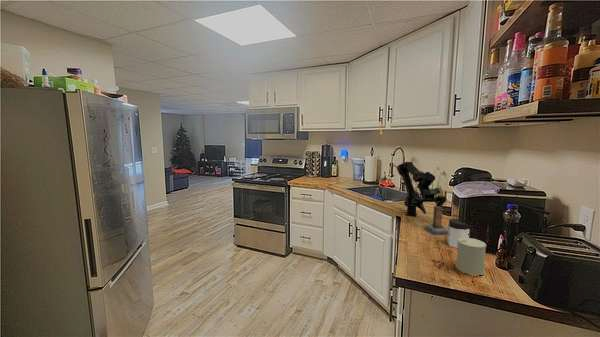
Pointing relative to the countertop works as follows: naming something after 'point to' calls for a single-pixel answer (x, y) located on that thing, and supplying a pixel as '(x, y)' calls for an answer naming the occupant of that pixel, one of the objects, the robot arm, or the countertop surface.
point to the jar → (456, 232)
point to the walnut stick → (437, 217)
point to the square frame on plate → (436, 230)
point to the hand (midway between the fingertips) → (433, 213)
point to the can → (470, 256)
